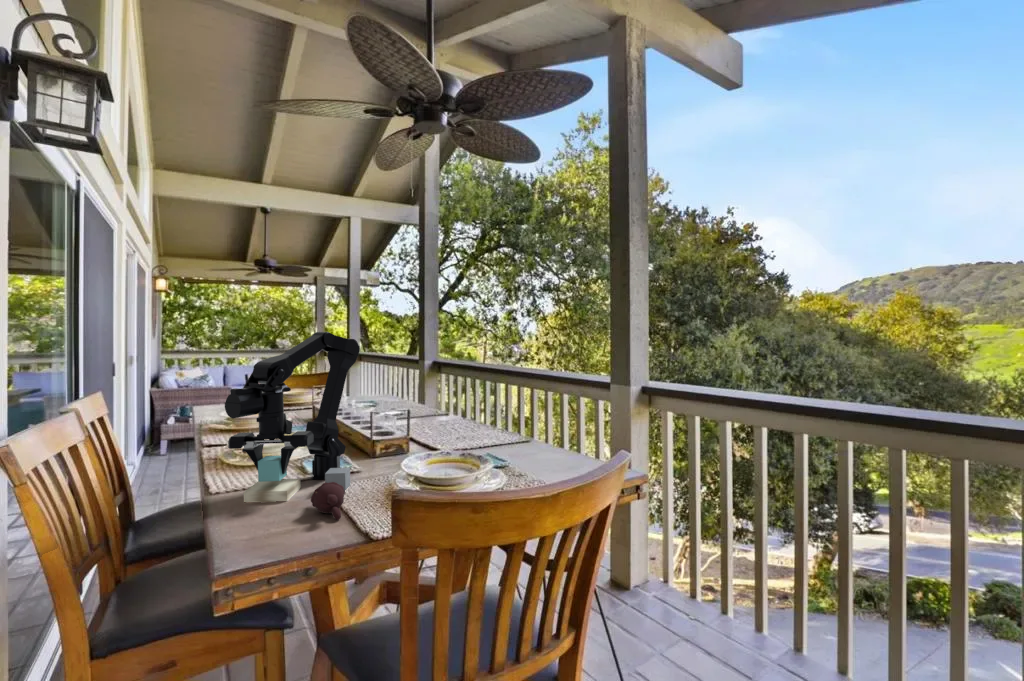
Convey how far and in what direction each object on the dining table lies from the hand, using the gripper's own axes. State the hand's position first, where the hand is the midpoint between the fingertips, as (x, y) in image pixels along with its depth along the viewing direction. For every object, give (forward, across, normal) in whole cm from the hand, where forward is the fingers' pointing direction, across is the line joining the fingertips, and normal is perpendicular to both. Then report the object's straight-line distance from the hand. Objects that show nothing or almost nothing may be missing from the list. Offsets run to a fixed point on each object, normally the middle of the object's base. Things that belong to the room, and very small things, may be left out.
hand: (272, 474), depth 129 cm
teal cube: (+1, 0, 0) cm, 1 cm away
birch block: (+6, 0, 0) cm, 6 cm away
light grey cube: (+5, -15, -3) cm, 16 cm away
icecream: (+6, -17, +13) cm, 22 cm away
